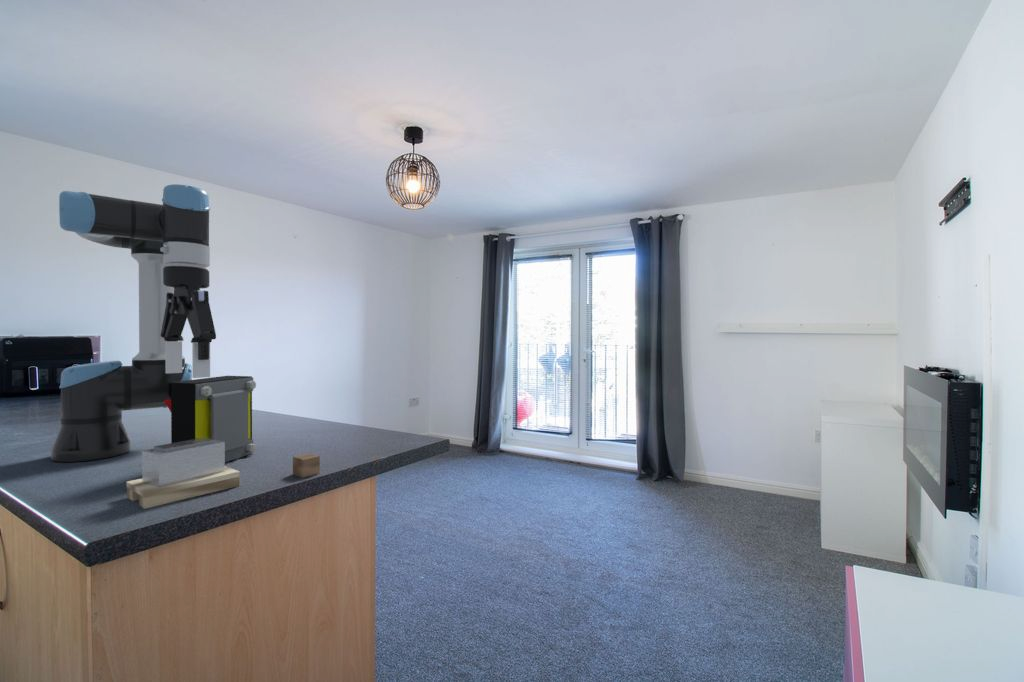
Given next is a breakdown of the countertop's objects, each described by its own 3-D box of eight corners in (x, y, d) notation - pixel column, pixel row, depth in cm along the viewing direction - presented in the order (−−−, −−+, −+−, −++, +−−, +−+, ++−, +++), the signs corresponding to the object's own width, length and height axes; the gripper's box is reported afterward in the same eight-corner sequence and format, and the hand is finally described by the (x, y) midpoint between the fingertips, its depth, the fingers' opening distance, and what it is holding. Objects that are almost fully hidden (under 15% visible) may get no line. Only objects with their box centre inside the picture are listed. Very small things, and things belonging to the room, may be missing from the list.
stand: (126, 497, 91) (126, 481, 91) (218, 477, 104) (218, 463, 104) (145, 509, 85) (145, 492, 85) (239, 486, 98) (239, 471, 98)
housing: (207, 466, 101) (207, 435, 101) (224, 470, 98) (224, 438, 98) (142, 482, 90) (141, 447, 90) (159, 487, 88) (158, 451, 87)
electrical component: (202, 473, 106) (202, 383, 106) (164, 470, 108) (163, 382, 108) (259, 453, 124) (259, 376, 123) (225, 451, 126) (225, 375, 125)
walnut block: (292, 474, 106) (292, 456, 106) (309, 470, 110) (309, 453, 110) (302, 478, 104) (302, 459, 104) (319, 473, 107) (319, 455, 107)
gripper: (141, 269, 98) (142, 372, 99) (190, 259, 83) (190, 381, 84) (183, 273, 104) (183, 370, 105) (236, 264, 90) (236, 377, 90)
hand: (187, 375), depth 94 cm, fingers open, 13 cm apart
